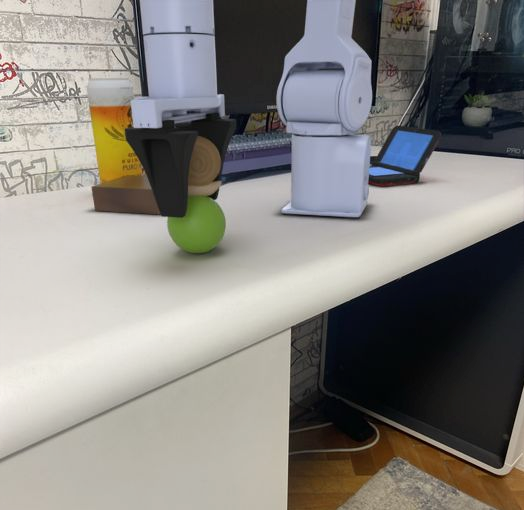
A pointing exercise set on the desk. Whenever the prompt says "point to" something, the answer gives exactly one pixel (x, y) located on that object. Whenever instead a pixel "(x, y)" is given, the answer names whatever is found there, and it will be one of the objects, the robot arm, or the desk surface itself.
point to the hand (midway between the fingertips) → (190, 207)
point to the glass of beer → (112, 127)
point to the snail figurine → (200, 203)
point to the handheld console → (403, 156)
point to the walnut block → (125, 195)
